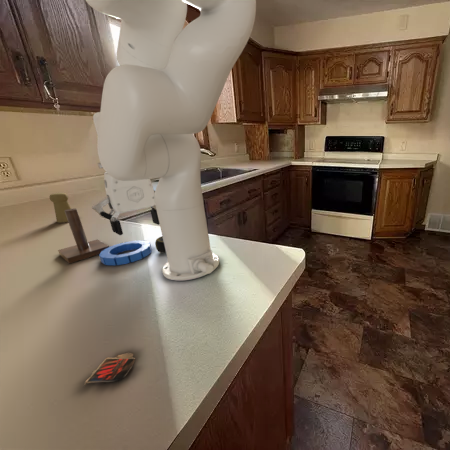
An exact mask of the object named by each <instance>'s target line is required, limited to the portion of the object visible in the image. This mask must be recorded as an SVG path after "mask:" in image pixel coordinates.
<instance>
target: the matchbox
mask: <svg viewBox="0 0 450 450" xmlns="http://www.w3.org/2000/svg"><path fill="white" fill-rule="evenodd" d="M133 356H134V353H133V352H132V353H130V352H125V353H122V354H117V355H116V356H115V357H111V356H110V357H106V358H105V359H104V360H103V361H102V362H101V363H100V364H99V365H98V367H97V368H96V369H95V370H92V371H91V372H92V374H91V375H90V376H89V377H88V378H86V379H85V382H84V384H83V387H86V385H87V384H92V383H93V384H94V383H96V384H97V383H102V384H103V385H104V384H106V383H112V382H117V381H121V380H124V379H125V378H126V376H127V375H128V373H130V372H131V371H133V370H131V369H132V367H133V366H134V363H135V360H136V357H133Z"/></svg>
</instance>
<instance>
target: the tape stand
mask: <svg viewBox="0 0 450 450" xmlns="http://www.w3.org/2000/svg"><path fill="white" fill-rule="evenodd" d="M65 214H66V217H67V219H68V222H67V223H68V225H69V228H70V230H71V234H72V236H73V239H74V243H75V245H72V246H68V247H64V248H61V249H58V250H57V252H58V254H59V256H60V257H61V258H62V259H64V260H65V261H66V262H67V263H68V264H72V263H76V262H79V261H82V260H85V259H88V258H89V259H90V258H92V257H95V256H99V254H100V253H101V251H103V250H104V249H106V248H108V247H110V246H109V244H106V243H105V242H103V241H101V240H99V239H97V238H96V239H93V240H90V241H88V238H87V235H86V232H85V229H84V227H83V223H82V221H81V218H80V217H81V216H80V215H79V211H78V209H77V208H72V209H68V210H65Z"/></svg>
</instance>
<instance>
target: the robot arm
mask: <svg viewBox="0 0 450 450" xmlns="http://www.w3.org/2000/svg"><path fill="white" fill-rule="evenodd" d="M85 2H86V3H87V5H88V6H90V7H91V8H92V9H94V11H96V12H98V13H101V14H103V15H107V16H108V17H109V16H110V17H111V18H115V19H118V20H121V21H120V28H119V29H120V30H119V35H118V41H117V47H116V48H117V49H116V61H117V63H118V65H117V66H115V67H114V68H112V69H111V70H110V71H109V72H108V74H107V75H106V77H105V79H104V81H103V86H102V94H101V103H100V110H99V111H97V112H95V113H94V114H92V115H93V116H92V120H93V121H92V122H93V125H94V128H95V132H96V135H97V138H96V139H97V140H96V146H97V147H96V149H97V156H98V160H99V162H97V167H98V169H103V170H104V171H105V172H103V181H104V182H103V183H104V190H105V191H104V192H105V196H104V197H103V198H102V199H100V200H99V201H97V202H96V203H94V204H93V205H91V209H93V211H94V212H95V213H96V214H98V215H99V216H100V217H102V218H104V219H107V220H109V222H110V227H111V230H112V232H113V233H115V234H117V235H119V236H122V235H124V232H123V228H122V225H121V224H122V223H121V221H120V220H119V219H118V218H119V216H120V215H121V214H123V213H130V212H134V211H139V210H143V209H148V208H150V216H151V220H152V224H155V225H157V226H158V225H159V227H160V232H161V236H162V237H163V241H164V245H165V250H166V253H165V254H166V259H167V262H166V263H165V264H164V265H163V267H162V268H161V271H162V275H163V277H164V278H165V279H168V280H172V281H189V280H190V281H191V280H195V279H199V278H201V277H204V276H206V275H209V274H211V273H212V272H214V271H215V270H216V269H217V268H218V267H219V265H220V257H219V255H217V254H216V253H214V252H213V250H212V249H211V243H210V242H211V241H210V237H209V230H208V224H207V218H206V212H205V204H204V197H203V190H202V181H201V178H202V177H201V166H202V152H201V146H200V143H199V141H198V139H197V138H196V137H195V135H194V134H198V133H201V132H203V131H204V130H205V128H207V126H208V124H209V123H210V120H211V117H212V116H213V113H214V111H215V109H216V106H217V104H218V102H219V99H220V97H221V94H222V93H223V90H224V87H225V84H226V82H227V80H228V78H229V76H230V74H231V71H232V69H233V68H234V66H235V64H236V62H237V61H238V59H239V58H240V56H241V55H242V53H243V51H244V49H245V47H246V46H247V44H248V41H249V39H250V38H251V35H252V32H253V29H254V25H255V22H256V14H257V0H85ZM188 5H190V6H192V7H194V8H196V9H198V10H199V12H200V14H199V16H198V17H196V18H195V19H193V20H191V22H189V23H188V24H187V25H185V23H186V19H187V13H188ZM157 178H159V179H158V182H157V184H156V187H155V189H154V186H153V183H152V180H151V179H157ZM106 205H108V207H109V209H110V210H109V212H106V211H105V210H104V209H103V208H104V207H105V206H106Z"/></svg>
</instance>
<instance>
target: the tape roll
mask: <svg viewBox="0 0 450 450" xmlns="http://www.w3.org/2000/svg"><path fill="white" fill-rule="evenodd" d="M152 250H153V248H152V244H151V242H150V241H147V240H142V239H141V240H140V239H139V240H137V239H136V240H129V241H124V242H119V243H116V244H113V245H111V246H109V247H108V248H106V249H104V250H103V251H101V253H100V254H98V256H99V259H100V262H101V263H102V264H103V265H104V266H122V265H127V264H130V263H134V262H137V261H140V260H143V259H144V258H146V257H147V256H149V255H151V253H152ZM127 251H131V252H127ZM124 252H126V253H124Z"/></svg>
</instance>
